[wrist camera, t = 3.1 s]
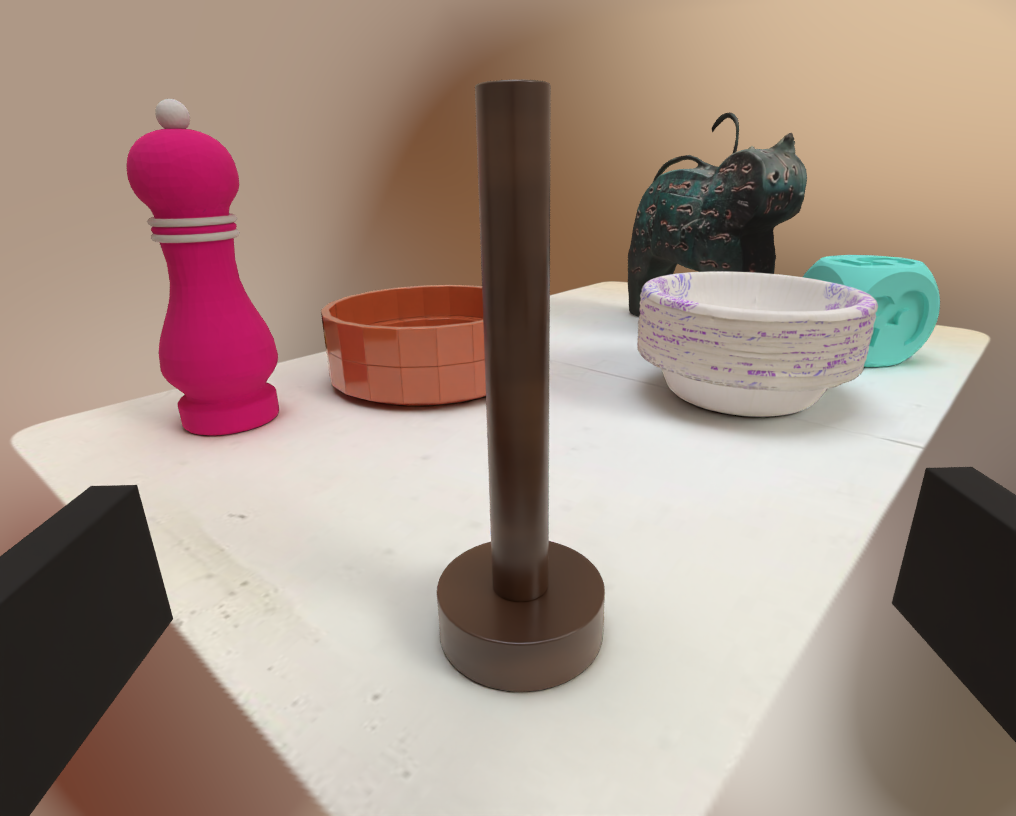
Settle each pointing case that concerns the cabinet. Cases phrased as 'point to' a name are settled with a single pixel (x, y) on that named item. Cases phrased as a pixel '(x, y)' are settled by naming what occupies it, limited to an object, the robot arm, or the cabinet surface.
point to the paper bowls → (754, 338)
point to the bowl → (408, 345)
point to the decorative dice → (888, 301)
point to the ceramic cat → (715, 214)
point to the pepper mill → (203, 279)
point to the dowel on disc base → (518, 429)
